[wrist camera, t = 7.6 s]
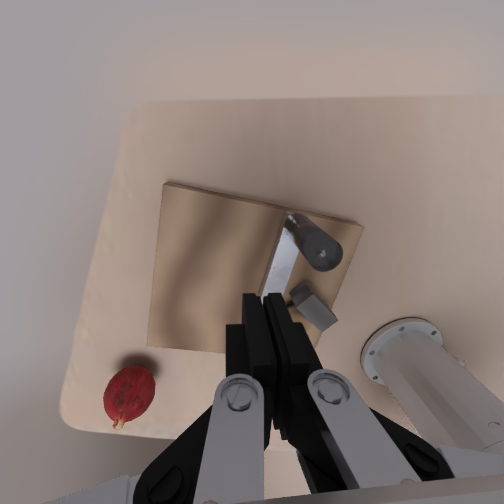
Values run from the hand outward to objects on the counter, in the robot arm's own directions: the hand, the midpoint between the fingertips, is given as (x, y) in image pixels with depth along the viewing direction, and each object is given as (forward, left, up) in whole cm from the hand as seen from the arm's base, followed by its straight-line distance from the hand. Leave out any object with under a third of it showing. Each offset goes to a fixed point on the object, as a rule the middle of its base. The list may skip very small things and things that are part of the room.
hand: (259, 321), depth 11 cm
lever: (-6, +8, -16) cm, 19 cm away
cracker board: (-3, +8, -19) cm, 21 cm away
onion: (+9, +24, -19) cm, 32 cm away
